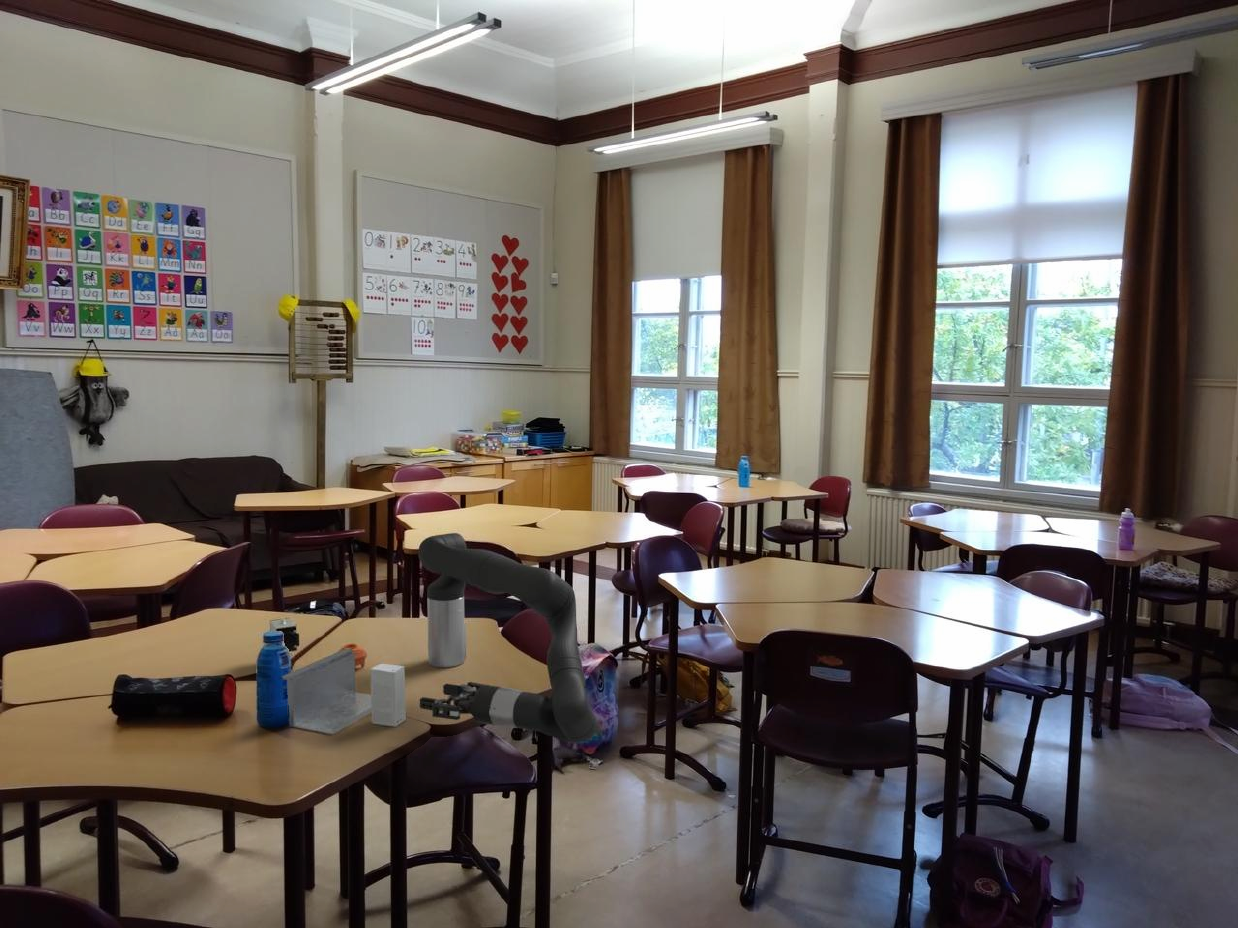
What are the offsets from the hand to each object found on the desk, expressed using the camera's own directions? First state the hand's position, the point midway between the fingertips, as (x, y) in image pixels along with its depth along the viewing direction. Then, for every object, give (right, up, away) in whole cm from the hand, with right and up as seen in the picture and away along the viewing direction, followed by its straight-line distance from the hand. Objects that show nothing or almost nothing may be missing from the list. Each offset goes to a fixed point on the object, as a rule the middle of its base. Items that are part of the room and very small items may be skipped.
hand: (432, 695), depth 183 cm
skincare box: (-10, -7, +5) cm, 14 cm away
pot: (-29, -4, +38) cm, 48 cm away
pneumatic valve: (-46, -3, +40) cm, 61 cm away
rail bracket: (-22, -6, +10) cm, 25 cm away
